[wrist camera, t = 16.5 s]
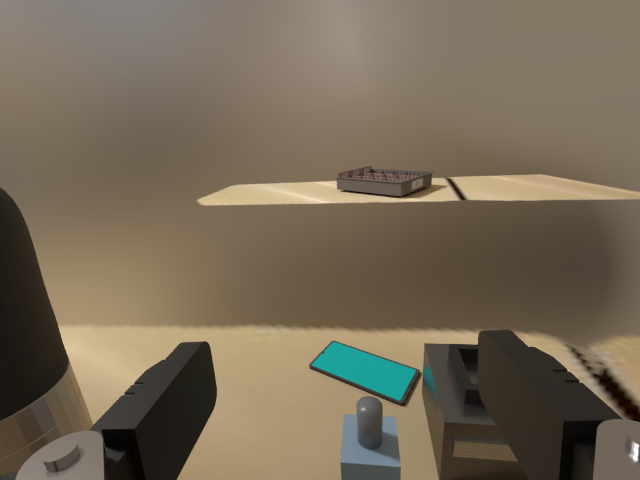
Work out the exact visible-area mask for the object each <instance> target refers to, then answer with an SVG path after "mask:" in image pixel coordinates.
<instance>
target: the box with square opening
mask: <svg viewBox="0 0 640 480" xmlns="http://www.w3.org/2000/svg"><path fill="white" fill-rule="evenodd" d="M477 372H478V345H469V344H427V343H424V364H423V384H422V395H423V400H424V405H425V410H426V415H427V420H428V425H429V430H430V435H431V440H432V446H433V451H434V456H435V461H436V466H437V471H438V476H439V480H529V478H528V477H527V475H526V473H525V472H524V470H523V468H522V467H521V465H520V464H519V462H518V460H517V459H516V457H515V455H514V454H513V452H512V450H511V449H510V447H509V445H508V444H507V442H506V440H505V439H504V437H503V435H502V434H501V432H500V430H499V429H498V427H497V425H496V424H495V422H494V421H493V419H492V417H491V416H490V414H489V412H488V411H487V409H486V407H485V406H484V404H483V402H482V400H481V397H480V394H479V389H478V382H477Z"/></svg>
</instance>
